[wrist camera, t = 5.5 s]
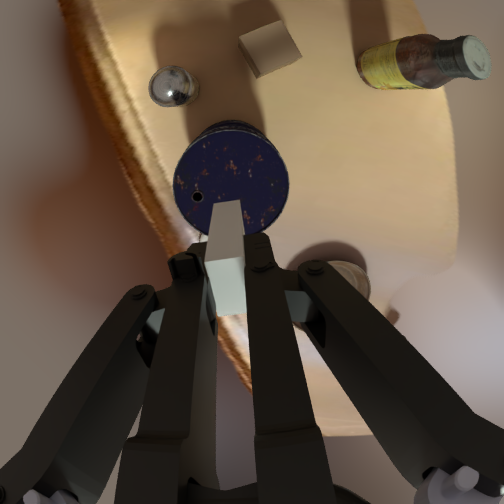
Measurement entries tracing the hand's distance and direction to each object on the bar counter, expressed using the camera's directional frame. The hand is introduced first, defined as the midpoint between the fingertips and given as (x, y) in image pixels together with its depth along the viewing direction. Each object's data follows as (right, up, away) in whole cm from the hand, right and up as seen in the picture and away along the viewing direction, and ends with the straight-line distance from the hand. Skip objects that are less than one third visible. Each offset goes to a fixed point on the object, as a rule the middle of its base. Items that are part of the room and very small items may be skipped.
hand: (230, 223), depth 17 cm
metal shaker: (-8, +19, +15) cm, 25 cm away
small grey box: (+3, +23, +13) cm, 27 cm away
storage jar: (-1, +11, +20) cm, 23 cm away
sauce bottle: (+18, +23, +14) cm, 33 cm away
